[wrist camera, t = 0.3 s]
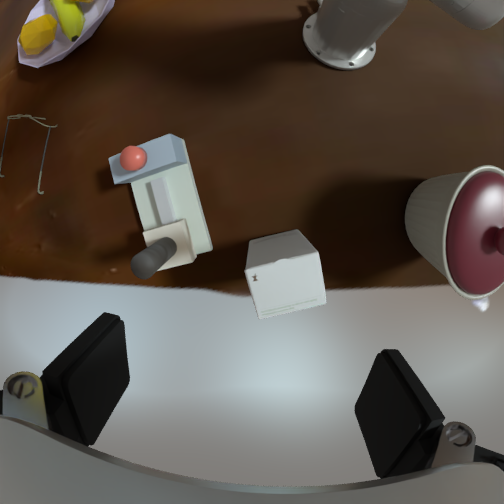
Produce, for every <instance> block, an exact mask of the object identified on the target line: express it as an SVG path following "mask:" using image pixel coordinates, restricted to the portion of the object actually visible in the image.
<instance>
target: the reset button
mask: <svg viewBox="0 0 504 504" xmlns="http://www.w3.org/2000/svg"><path fill="white" fill-rule="evenodd" d="M146 163H147V153H146V151H145V150H144V149H143V148H140V147H136V146H128V147H126V148H125V149H124V150H123V151H122V153H121V155H120V164H121V166H122V167H123V168H124V169H125V170H129V171H137V170H140V169H142V168H143V167H144V166H145V165H146Z"/></svg>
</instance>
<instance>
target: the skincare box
mask: <svg viewBox="0 0 504 504" xmlns="http://www.w3.org/2000/svg"><path fill="white" fill-rule="evenodd" d="M244 272H245V275H246V278H247V282H248V285H249V289H250V292H251V295H252V299H253V302H254V305H255V308H256V312H257V315H258V318H259V319H264V318H268V317H272V316H277V315H282V314H286V313H291V312H295V311H299V310H303V309H307V308H312V307H315V306H319V305H323V304H326V294H325V287H324V280H323V274H322V268H321V263H320V257H319V253H318V251H317V250H316V249H315V248H314V247H313V246H312V245H311V243H310V242H309V241H308V240H307V239H306V238H305V237H304V236H303V234H302V233H301V232H300V231H299V230H298V229H296V230H291V231H287V232H283V233H278V234H274V235H270V236H266V237H262V238H258V239H254V240H251V241H250V242H249V249H248V256H247V262H246V268H245V270H244Z"/></svg>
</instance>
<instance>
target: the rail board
mask: <svg viewBox="0 0 504 504" xmlns="http://www.w3.org/2000/svg"><path fill="white" fill-rule="evenodd" d="M136 147H140V148H143V149H144V150H145V151H146V153H147V163H146V165H145V166H144V167H143V168H142V169H140V170H137V171H129V170H125V169H124V168H123V167H122V166H121V164H120V155H121V153H120V154H117V155H115V156H113V157H110V158H109V163H110V167H111V171H112V176H113V180H114V184H122V183H131V186H132V189H133V193H134V197H135V201H136V204H137V208H138V211H139V215H140V218H141V222H142V225H143V229H144V232H145V231H147V230H149V229H151V228H154V227H156V226H159V225H165V224H168V223H171V222H175V221H177V220H179V219H183V218H184V219H185V218H186V221H187V225H188V228H189V232H190V235H191V239H192V242H193V245H194V249H195V252H196V254H200V253H204V252H208V251H212V249H213V246H212V243H211V239H210V236H209V232H208V229H207V225H206V222H205V218H204V214H203V211H202V207H201V203H200V200H199V196H198V192H197V189H196V185H195V181H194V177H193V173H192V170H191V166H190V162H189V158H188V154H187V150H186V146H185V142H184V140H183V139H181V138H179V137H176V136H174V135H172V134H168V135H165V136H162V137H160V138H157V139H154V140H152V141H149V142H146V143H144V144H141V145H139V146H136Z"/></svg>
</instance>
